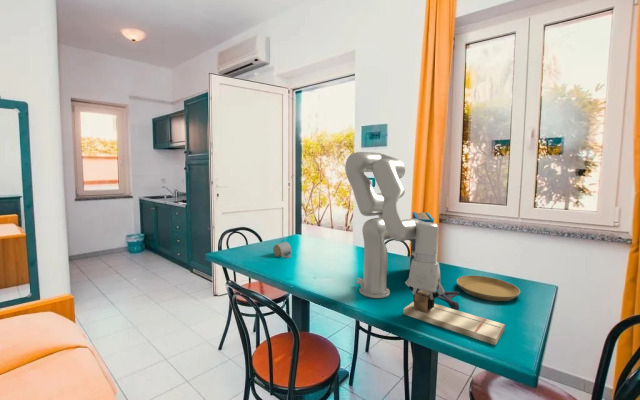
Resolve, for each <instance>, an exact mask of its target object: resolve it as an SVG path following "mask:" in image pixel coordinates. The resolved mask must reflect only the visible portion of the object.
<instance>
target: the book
mask: <svg viewBox="0 0 640 400" xmlns="http://www.w3.org/2000/svg"><path fill="white" fill-rule="evenodd" d="M411 219H418V220H421V221H424V222H431V223H435V222H434V221H435V220H434V218H433V217H432V215H431V214H430V213H429V212H428V211H427V212H415V211H412V217H411ZM415 245H416V239H411V241H410V262H409V268H410V267H411V263H412V259H415V258H414V256H413V255H412V254H411V253H412V251H413V252H414V251H415Z"/></svg>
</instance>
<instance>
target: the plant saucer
mask: <svg viewBox="0 0 640 400" xmlns="http://www.w3.org/2000/svg"><path fill="white" fill-rule="evenodd" d="M456 283H457V285H458V287H459V288H460V289H461V290H462V291H463V292H465V293H466V294H467V295H469V296H472V297H475V298H478V299H482V300H484V301H485V300H486V301H491V302H492V301H494V302H508V301H511V300H513V299H516V298H517V297H518V296H519V295H520V293H521V290H520V288H519V287H517V286H516V285H515V284H513V283H510V282H508V281H505V280H502V279H498V278H494V277H489V276H484V275H483V276H482V275H464V276H460V277H458V278H457V279H456Z"/></svg>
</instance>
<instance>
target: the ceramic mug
mask: <svg viewBox="0 0 640 400" xmlns="http://www.w3.org/2000/svg"><path fill="white" fill-rule="evenodd" d="M272 250H273V254H274V256H275V257H276V258H279V257H282V258H284V259H290V258H291V257H292V247H291V245H290V243H289V242H288V241H283V242H280V243H277V244H275V245H274V246H273V249H272Z"/></svg>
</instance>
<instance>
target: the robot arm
mask: <svg viewBox="0 0 640 400" xmlns="http://www.w3.org/2000/svg"><path fill="white" fill-rule="evenodd" d="M344 167H345V168H344V170H345V175H346V179H347V180H348V182H349V184H350V186H351V189H352V192H353V195H354V198H355V202H356V204H357V208H358V210H359V213H360V214H361V215H362V216H363V217H374V218H370V219H368V220H366V221H365V222H364V223H363V225H362V238H363V245H364V248H363V249H364V250H363V251H364V252H363V258H364V259H363V278H361V277H357V278H356V281H355V283H356V284H357V285H360V287H359V293H360V294H361V295H362V296H364V297H366V298H369V299H370V298H371V299H384V298H387V297H389V296H390V294H391V290H390V289H389V288H388V287H387V280H388V279H387V275H388V273H387V272H388V247H387V245H386V243H385V241H387V240H394V241H396V242H404V241H410V240H411V239H416V245H415V251H414V252H413V251H412V253H411V252H410V255H411V254H412V255H413V256H414V258H415V259H412V263H411V267H410V266H409V275H408V278H407V280H406V281H405V282H404V283H405V285H406V286H407V287H408V288H409V290H410V291H411V293H412V295H413V296H412V297H413V298H412V299H413V301H412V302H414V297H415V293H417V292H418V291H420V290H424V291H428V292H429V296H430V298H429V299H428V310H431V309H432V308H433V307H434V304H435V298H437V296H441V295H442V294H444V293H445V292H446V290H445V289H444V287H443V286H442V284H441V269H440V262H439V261H438V252H439V251H438V250H439V249H438V248H439V246H438V245H439V235H440V234H439V230H440V229H439V225H438V224H437V223H435V222H434V223H431V222H424V221H421V220H418V219H412V218H408V219H407V218H406V219H401V217H400V213H399V212H398V207H397V206H398V201H399V199H401V198H402V197H404V195H405V194H406V193H405V188H404V186H403V184H402V182H401V180H400V179H402V178H403V177H404V176H405V173H406V167H405V164H404V163H403V161H401V160H400V159H399V158H395V157H393V156H390V155H387V154H384V153H381V152H372V151H357V152H353V153H351V154H350V155H348V157H347V158H346V161H345V165H344ZM365 173H372V174H373V177H374V179H375V181H376V184H377V186H378V189H379V191H380V192H379V193H378V192H376V191H375V189H374V187H373V183H372V182H371V179H369V177H368V176H367V175H366V174H365ZM375 216H376V217H375ZM437 290H438V291H437ZM435 292H436V293H435Z"/></svg>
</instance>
